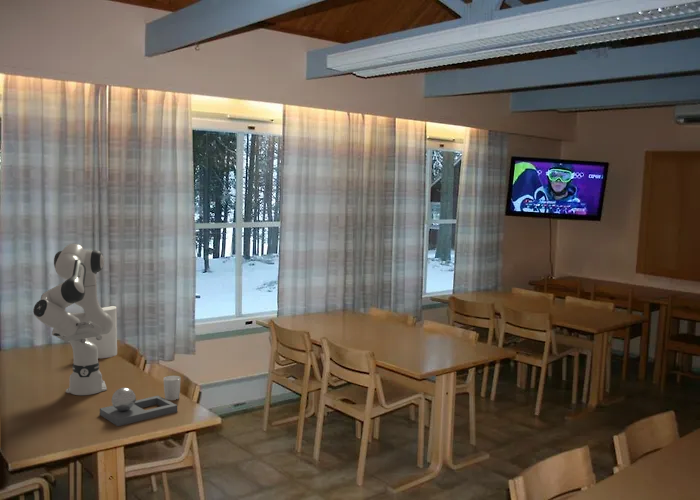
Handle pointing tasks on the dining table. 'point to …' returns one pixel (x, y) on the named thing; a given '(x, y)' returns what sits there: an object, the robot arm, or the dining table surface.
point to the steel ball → (123, 399)
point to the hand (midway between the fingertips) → (92, 340)
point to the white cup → (172, 387)
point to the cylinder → (107, 337)
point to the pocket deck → (138, 411)
